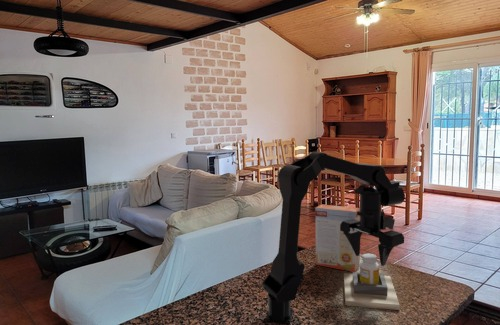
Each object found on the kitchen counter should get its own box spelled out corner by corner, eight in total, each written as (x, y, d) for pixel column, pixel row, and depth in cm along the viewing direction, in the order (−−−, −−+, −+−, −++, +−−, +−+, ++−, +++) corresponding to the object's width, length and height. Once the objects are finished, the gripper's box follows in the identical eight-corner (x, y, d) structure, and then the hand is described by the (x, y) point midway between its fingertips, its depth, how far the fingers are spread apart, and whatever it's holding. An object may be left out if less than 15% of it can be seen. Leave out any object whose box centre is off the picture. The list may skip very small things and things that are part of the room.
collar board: (399, 310, 99) (399, 295, 99) (345, 305, 102) (345, 291, 102) (389, 280, 117) (390, 268, 116) (343, 277, 120) (344, 265, 119)
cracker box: (360, 266, 128) (360, 207, 125) (354, 273, 123) (355, 211, 120) (321, 259, 135) (321, 203, 132) (315, 265, 130) (314, 206, 127)
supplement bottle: (376, 283, 112) (376, 252, 110) (380, 291, 106) (381, 259, 105) (357, 283, 112) (358, 252, 111) (361, 291, 107) (361, 259, 106)
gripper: (417, 210, 103) (415, 264, 105) (364, 198, 118) (363, 245, 120) (391, 217, 97) (390, 274, 99) (338, 203, 113) (338, 253, 115)
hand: (369, 260), depth 108 cm, fingers open, 9 cm apart
